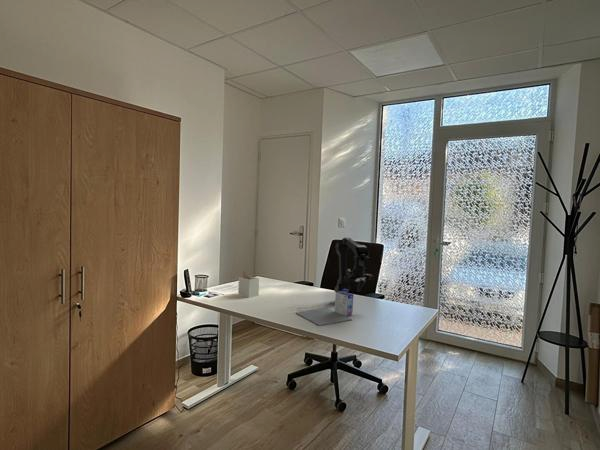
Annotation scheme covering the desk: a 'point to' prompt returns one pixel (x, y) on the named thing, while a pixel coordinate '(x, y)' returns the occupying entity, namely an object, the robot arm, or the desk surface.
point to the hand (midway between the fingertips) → (358, 291)
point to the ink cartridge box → (344, 303)
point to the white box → (248, 286)
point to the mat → (323, 316)
